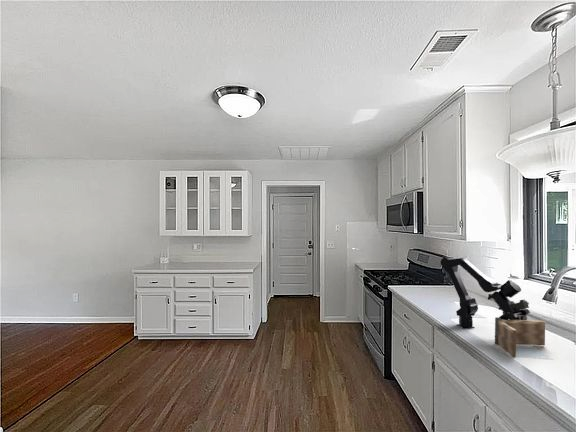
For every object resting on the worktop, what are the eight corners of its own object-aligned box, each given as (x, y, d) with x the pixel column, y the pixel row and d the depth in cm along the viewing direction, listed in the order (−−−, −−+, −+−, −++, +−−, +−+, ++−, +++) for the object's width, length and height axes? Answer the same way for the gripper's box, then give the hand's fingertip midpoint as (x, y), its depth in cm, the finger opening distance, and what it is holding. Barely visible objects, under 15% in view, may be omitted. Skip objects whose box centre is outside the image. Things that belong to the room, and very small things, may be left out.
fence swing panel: (502, 343, 160) (502, 320, 160) (500, 342, 162) (500, 319, 162) (545, 345, 159) (545, 321, 159) (543, 344, 160) (543, 320, 160)
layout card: (491, 342, 163) (491, 342, 163) (530, 345, 161) (530, 344, 161) (508, 356, 146) (508, 356, 146) (552, 360, 144) (552, 359, 144)
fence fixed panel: (493, 342, 162) (494, 317, 162) (499, 343, 162) (499, 317, 162) (511, 356, 146) (511, 328, 146) (517, 357, 145) (517, 328, 146)
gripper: (506, 295, 161) (531, 326, 151) (526, 292, 170) (551, 320, 161) (488, 308, 167) (511, 338, 158) (508, 304, 177) (532, 332, 168)
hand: (527, 332), depth 161 cm, fingers closed
